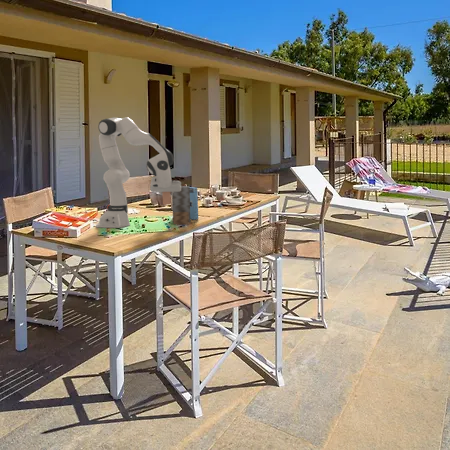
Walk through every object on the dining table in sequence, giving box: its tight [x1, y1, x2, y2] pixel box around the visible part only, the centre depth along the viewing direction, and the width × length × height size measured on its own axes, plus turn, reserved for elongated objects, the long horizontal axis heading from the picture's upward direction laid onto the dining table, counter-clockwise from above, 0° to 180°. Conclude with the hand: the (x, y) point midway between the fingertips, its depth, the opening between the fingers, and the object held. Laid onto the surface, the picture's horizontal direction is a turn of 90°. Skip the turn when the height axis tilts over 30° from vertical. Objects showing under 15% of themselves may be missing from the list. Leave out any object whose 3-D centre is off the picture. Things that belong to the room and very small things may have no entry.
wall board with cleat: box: [171, 186, 191, 226], centre depth 345 cm, size 12×9×25 cm
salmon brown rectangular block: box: [162, 192, 172, 206], centre depth 335 cm, size 5×4×12 cm
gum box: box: [189, 186, 199, 220], centre depth 366 cm, size 20×5×23 cm, turn 56°
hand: (166, 194), depth 335 cm, fingers closed on salmon brown rectangular block, 5 cm apart
